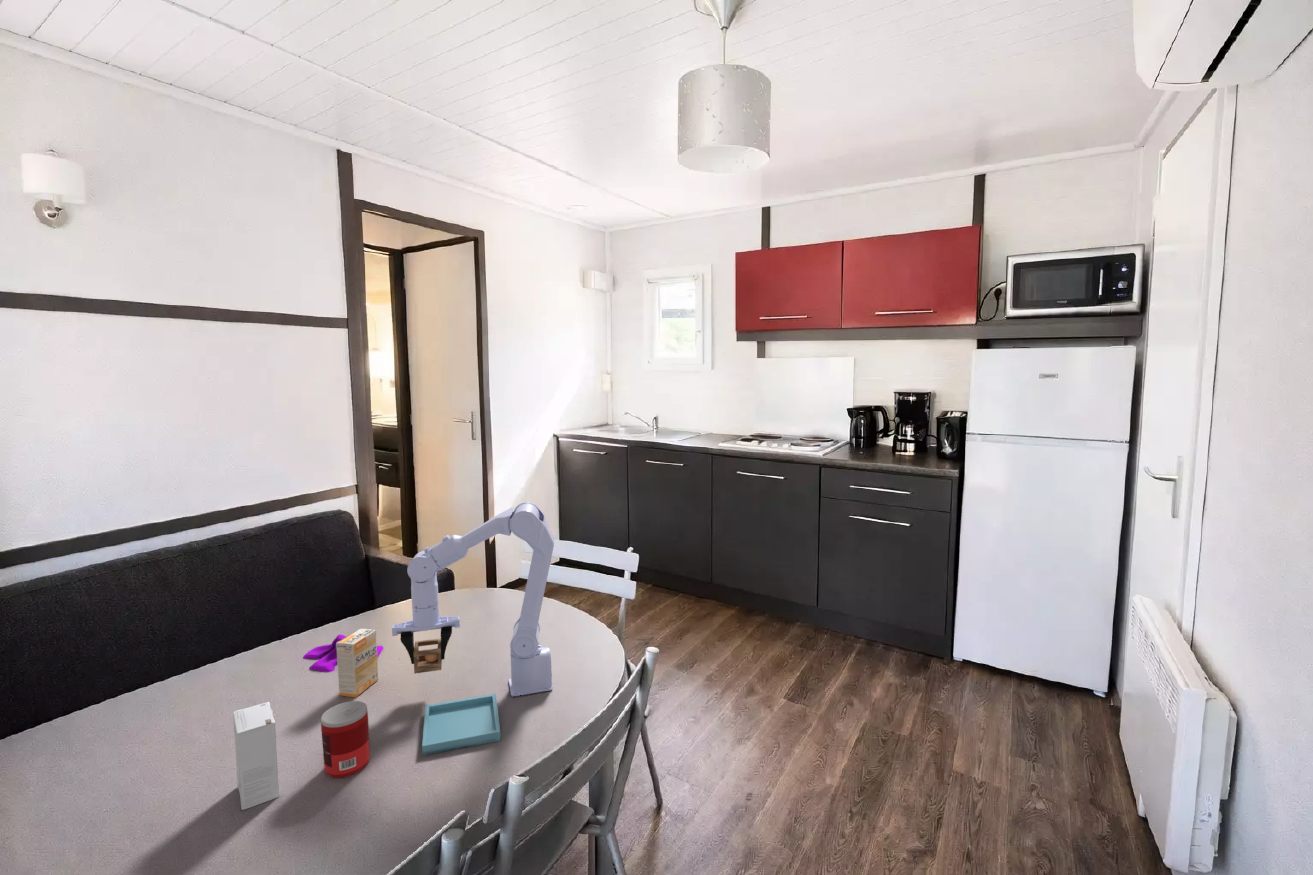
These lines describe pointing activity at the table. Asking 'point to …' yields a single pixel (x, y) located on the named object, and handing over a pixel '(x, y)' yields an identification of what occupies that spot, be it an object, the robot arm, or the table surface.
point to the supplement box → (357, 662)
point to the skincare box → (256, 755)
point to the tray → (460, 724)
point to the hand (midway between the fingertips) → (428, 659)
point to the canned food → (345, 739)
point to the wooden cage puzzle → (419, 656)
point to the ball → (431, 658)
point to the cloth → (328, 655)
